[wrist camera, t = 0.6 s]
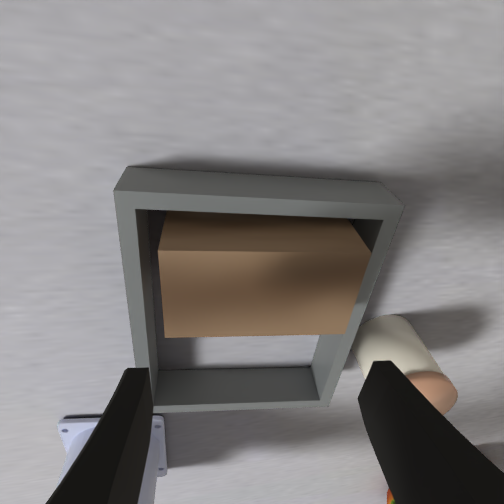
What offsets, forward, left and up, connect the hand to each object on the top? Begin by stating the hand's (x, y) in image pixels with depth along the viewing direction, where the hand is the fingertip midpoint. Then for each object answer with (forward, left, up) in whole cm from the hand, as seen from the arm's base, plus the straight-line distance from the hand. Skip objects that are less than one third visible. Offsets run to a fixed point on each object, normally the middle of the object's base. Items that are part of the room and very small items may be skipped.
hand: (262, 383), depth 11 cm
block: (-1, -1, -10) cm, 10 cm away
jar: (-9, -11, -10) cm, 17 cm away
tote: (-5, -1, -10) cm, 11 cm away
